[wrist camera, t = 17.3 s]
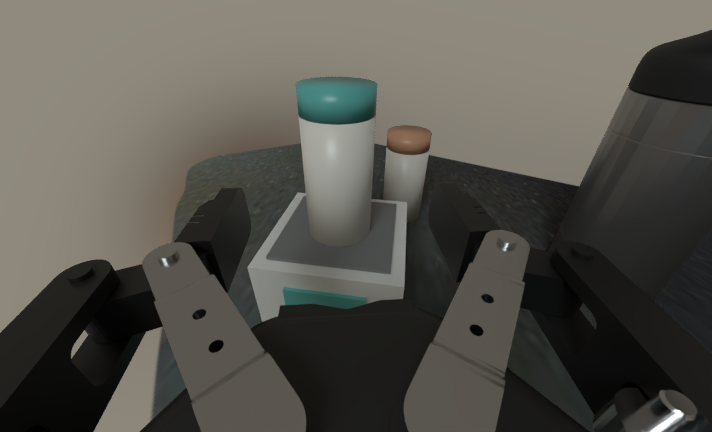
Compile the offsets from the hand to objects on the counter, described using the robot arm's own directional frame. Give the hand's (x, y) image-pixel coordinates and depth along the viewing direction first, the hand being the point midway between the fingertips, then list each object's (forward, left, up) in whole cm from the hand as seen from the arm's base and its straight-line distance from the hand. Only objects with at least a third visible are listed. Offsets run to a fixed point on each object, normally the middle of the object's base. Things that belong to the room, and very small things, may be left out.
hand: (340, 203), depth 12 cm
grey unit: (-7, -5, -15) cm, 18 cm away
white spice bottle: (-23, -6, -15) cm, 28 cm away
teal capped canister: (-7, -5, -8) cm, 12 cm away
